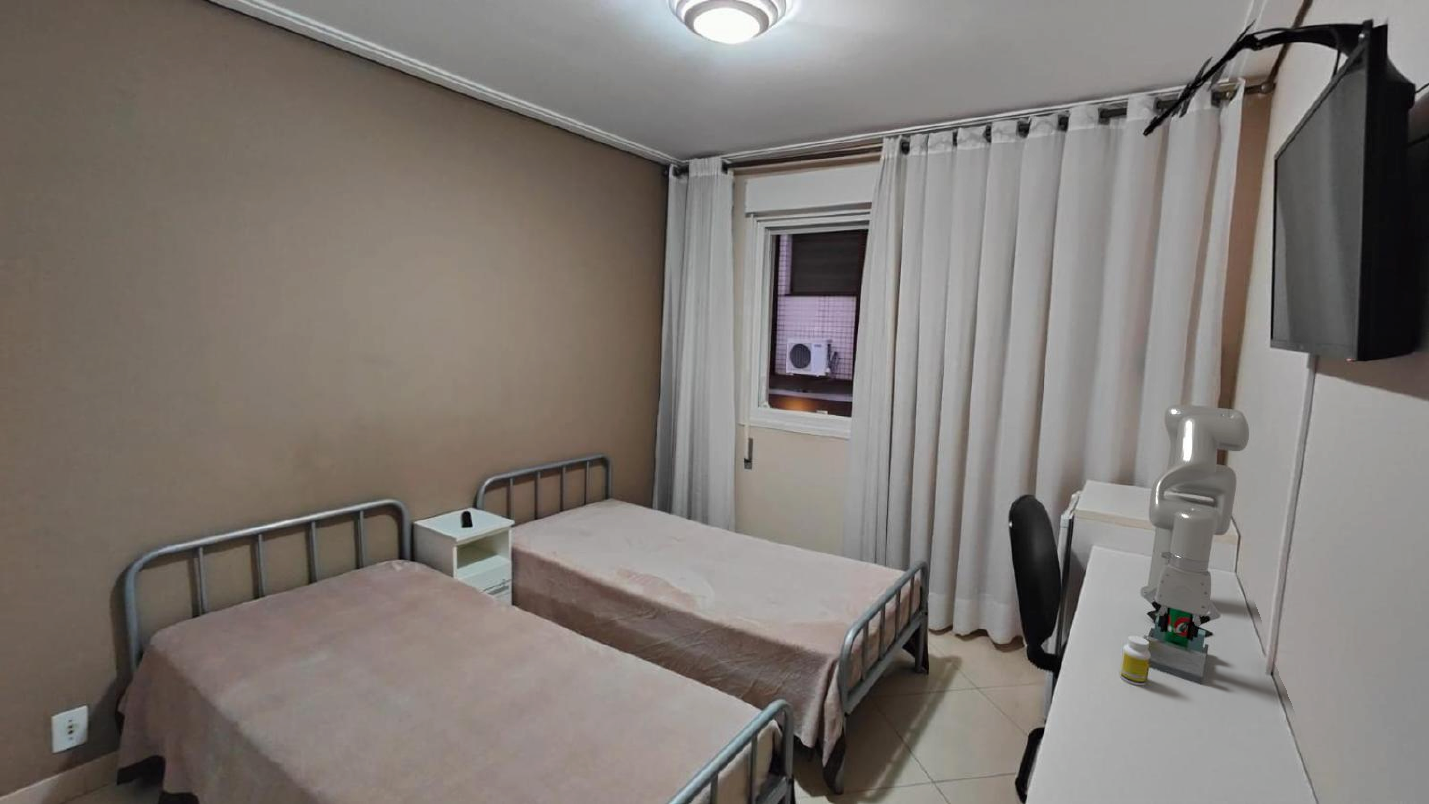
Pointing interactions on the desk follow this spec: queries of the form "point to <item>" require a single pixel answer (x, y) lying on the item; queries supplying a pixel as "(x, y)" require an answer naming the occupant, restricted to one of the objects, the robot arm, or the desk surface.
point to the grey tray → (1176, 659)
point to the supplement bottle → (1135, 661)
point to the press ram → (1194, 645)
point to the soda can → (1178, 627)
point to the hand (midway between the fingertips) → (1176, 633)
